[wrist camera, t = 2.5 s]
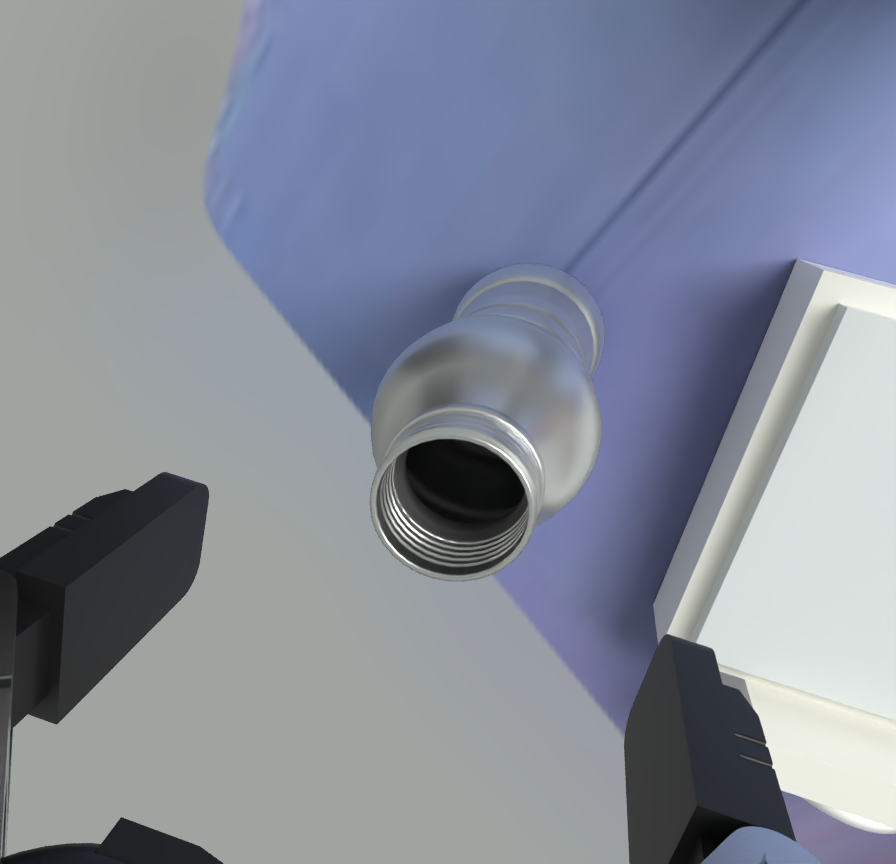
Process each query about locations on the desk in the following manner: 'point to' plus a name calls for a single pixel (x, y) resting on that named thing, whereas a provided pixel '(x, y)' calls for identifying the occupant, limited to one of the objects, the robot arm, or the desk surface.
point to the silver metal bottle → (488, 424)
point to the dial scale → (807, 546)
